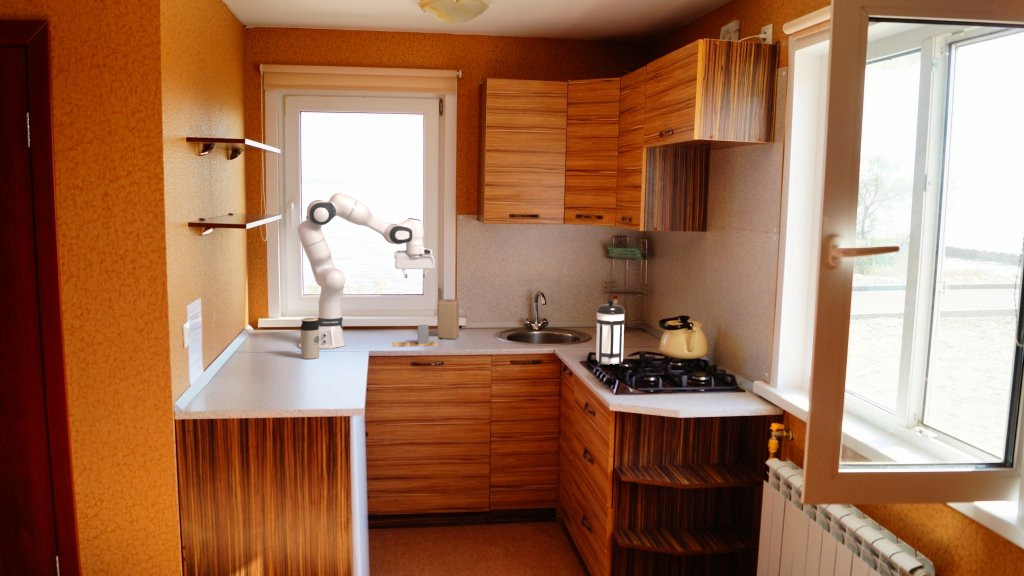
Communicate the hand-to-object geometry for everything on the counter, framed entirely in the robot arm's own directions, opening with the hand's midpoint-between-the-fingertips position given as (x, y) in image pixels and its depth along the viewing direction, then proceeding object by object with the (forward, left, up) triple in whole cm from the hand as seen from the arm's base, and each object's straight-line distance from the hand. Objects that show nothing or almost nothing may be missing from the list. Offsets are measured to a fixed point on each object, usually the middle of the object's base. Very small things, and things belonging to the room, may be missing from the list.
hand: (415, 277), depth 387 cm
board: (-1, -13, -33) cm, 36 cm away
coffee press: (+82, -68, -33) cm, 112 cm away
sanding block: (+3, -13, -32) cm, 34 cm away
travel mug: (-50, -32, -33) cm, 68 cm away
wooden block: (+18, +10, -33) cm, 39 cm away
